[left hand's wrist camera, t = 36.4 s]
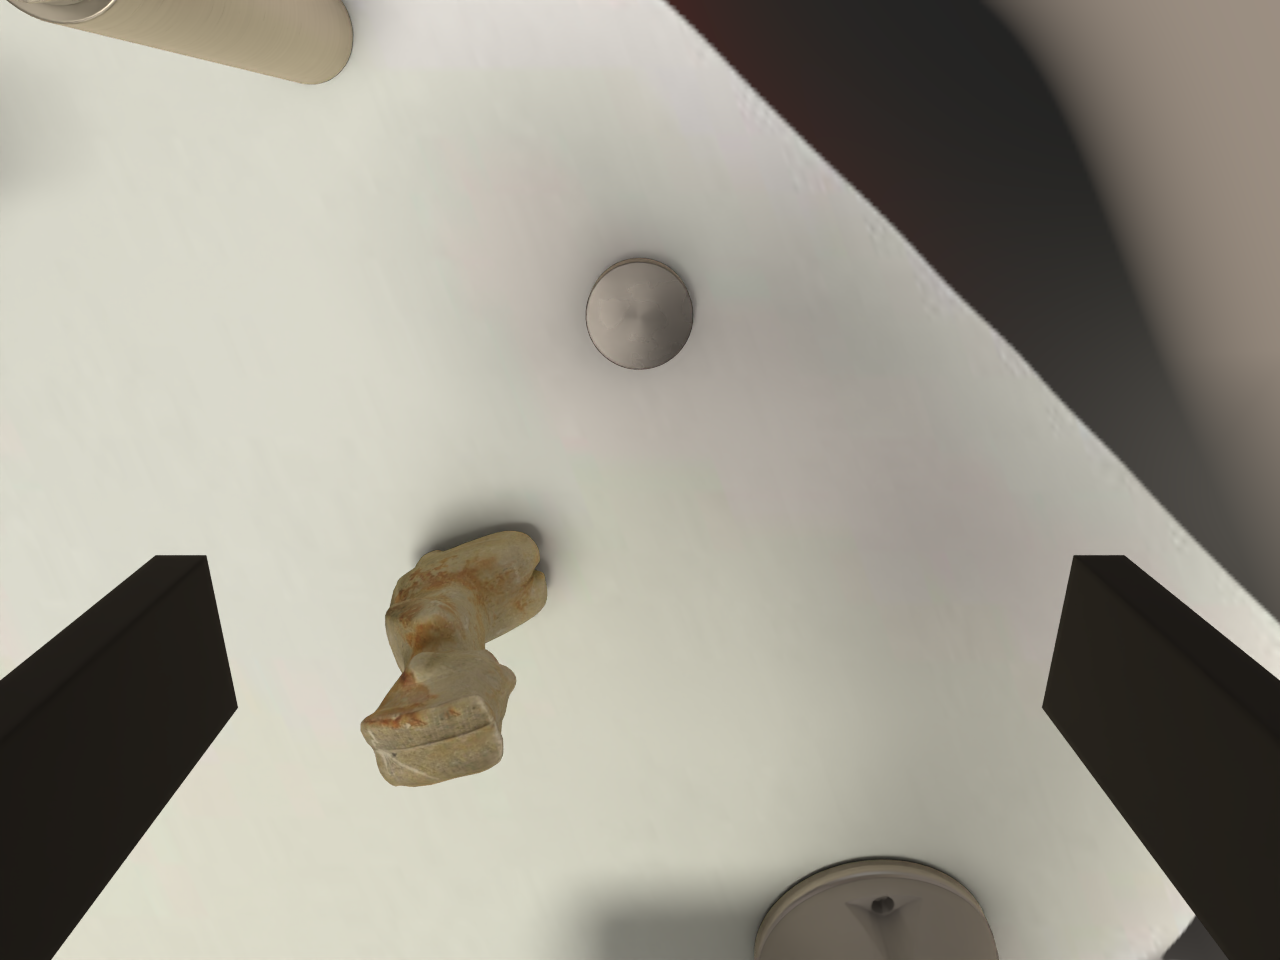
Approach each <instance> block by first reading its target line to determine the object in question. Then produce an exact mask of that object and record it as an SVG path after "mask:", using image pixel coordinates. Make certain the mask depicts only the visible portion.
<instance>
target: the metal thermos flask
mask: <svg viewBox="0 0 1280 960" xmlns="http://www.w3.org/2000/svg"><path fill="white" fill-rule="evenodd" d="M7 1H8V2H9V3H11V4H12V5H14V6H15V7H16V8H18V9H19V10H21V11H23V12H25V13H26V14H28V15H30V16H32V17H35V18H37V19H40V20H42V21H46V22H50V23H54V24H58V25H62V26H66V27H70V28H74V29H78V30H83V31H87V32H91V33H95V34H99V35H103V36H107V37H111V38H116V39H120V40H124V41H128V42H132V43H136V44H140V45H145V46H149V47H153V48H157V49H161V50H165V51H169V52H173V53H178V54H182V55H186V56H190V57H194V58H198V59H202V60H207V61H211V62H215V63H219V64H223V65H227V66H231V67H235V68H240V69H244V70H248V71H252V72H256V73H260V74H264V75H269V76H273V77H277V78H281V79H285V80H289V81H293V82H297V83H302V84H319V83H323V82H326V81H328V80H330V79H332V78H333V77H335V76H336V75H337V74H338V73H339V72H340V71H341V70H342V69H343V67H344V66H345V65H346V63H347V61H348V59H349V56H350V53H351V49H352V42H353V32H352V25H351V21H350V18H349V15H348V12H347V10H346V8H345V6H344V4H343V3H342V1H341V0H7Z"/></svg>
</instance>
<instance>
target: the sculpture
mask: <svg viewBox="0 0 1280 960" xmlns="http://www.w3.org/2000/svg"><path fill="white" fill-rule="evenodd" d="M539 562H540V554H539V550H538V547H537V545H536V544H535V542H534V541H533V540H532V539H531V537H530V536H528V535H527V534H525V533H522V532H517V531H503V532H497V533H494V534H490V535H487V536H484V537H481V538H478V539H475V540H473V541H470V542H467V543H464V544H462V545H459V546H457V547H454V548H451V549H449V550H446V551H443V552H442V551H440V550H435V551H432V552H429V553H427V554H425V555H424V556H423V557H421V559H420V560H419V562H418V563H417V565H416V567H415V568H414V569H412V570H411V571H409V572H408V573H406V574H405V575H403V576H402V577H401V578H400V579H399V580H398V582H397V585H396V587H395V589H394V591H393V595H392V599H391V604H390V608H389V609H388V611H387V612H386V615H385V626H386V633H387V637H388V640H389V644H390V646H391V649H392V652H393V654H394V657H395V659H396V662H397V664H398V667H399V668H400V670H401V672H402V675H401V676H400V677H399V679H398V680H397V681H396V683H395V684H394V685H393V687H392V688H391V690H390V691H389V692H388V694H387V695H386V696H385V698H384V700H383V701H382V703H381V704H380V706H379V707H378V709H377V710H376V711H375V712H374V713H373V714H371V715H369V716H368V717H366V718H365V719H364V720H363V721H362V722H361V732H362V734H363V736H364V738H365V740H366V742H367V743H368V744H369V745H370V746H371V747H372V748H373V750H374V753H375V756H376V761H377V765H378V768H379V771H380V773H381V775H382V776H383V777H384V779H385V780H386V781H387V782H389V783H390V784H391V785H393V786H409V787H417V786H425V785H432V784H436V783H440V782H443V781H447V780H450V779H454V778H457V777H462V776H467V775H471V774H476V773H480V772H483V771H485V770H488V769H489V768H491V767H493V766H494V765H496V764H497V763H498V762H500V760H501V758H502V756H503V738H502V735H501V727H502V720H503V718H504V715H505V712H506V707H507V702H508V698H509V695H510V693H511V692H512V691H513V689H514V687H515V685H516V676H515V674H514V673H513V672H512V670H510V669H509V668H508V667H506V666H504V665H501V664H499V663H498V661H497V659H496V658H495V657H494V655H493V654H492V653H490V652H489V651H488V650H486V649H485V643H487V642H489V641H491V640H493V639H495V638H497V637H499V636H501V635H503V634H505V633H507V632H509V631H511V630H512V629H514V628H516V627H518V626H519V625H521V624H523V623H524V622H526V621H527V620H529V619H531V618H532V617H534V616H535V615H536V614H537V613H538V612H539V611H540V610H541V609H542V608H543V606H544V605H545V603H546V600H547V585H546V582H545V575H544V573H542V572H540V571H537V570H534V569H535V567H536V566H537V564H538V563H539Z"/></svg>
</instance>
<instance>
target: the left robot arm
mask: <svg viewBox="0 0 1280 960" xmlns="http://www.w3.org/2000/svg"><path fill="white" fill-rule="evenodd" d="M237 708H238V706H237V701H236V696H235V691H234V686H233V681H232V677H231V672H230V667H229V662H228V657H227V653H226V648H225V643H224V638H223V633H222V628H221V624H220V619H219V614H218V609H217V604H216V600H215V595H214V590H213V585H212V580H211V576H210V571H209V566H208V561H207V556H206V555H156V556H154V557H153V558H152V559H151V560H149V561H148V562H147V563H146V564H144V565H143V566H142V567H141V568H139V569H138V570H137V571H136V572H134V573H133V574H132V575H131V576H129V577H128V578H127V579H126V580H124V581H123V582H122V583H121V584H120V585H118V586H117V587H116V588H115V589H113V590H112V591H111V592H110V593H108V594H107V595H106V596H105V597H103V598H102V599H101V600H100V601H98V602H97V603H96V604H95V605H93V606H92V607H91V608H90V609H88V610H87V611H86V612H85V613H83V614H82V615H81V616H80V617H79V618H77V619H76V620H75V621H74V622H72V623H71V624H70V625H69V626H67V627H66V628H65V629H64V630H62V631H61V632H60V633H59V634H57V635H56V636H55V637H54V638H52V639H51V640H50V641H49V642H47V643H46V644H45V645H44V646H43V647H41V648H40V649H39V650H38V651H36V652H35V653H34V654H33V655H31V656H30V657H29V658H28V659H26V660H25V661H24V662H23V663H21V664H20V665H19V666H18V667H16V668H15V669H14V670H13V671H11V672H10V673H9V674H8V675H7V676H5V677H4V678H3V679H2V680H0V960H51V959H52V958H53V956H54V955H55V954H56V952H57V951H58V950H59V948H60V947H61V946H62V944H63V943H64V942H65V940H66V939H67V938H68V936H69V935H70V934H71V932H72V931H73V930H74V928H75V927H76V925H77V924H78V923H79V921H80V920H81V919H82V917H83V916H84V915H85V913H86V912H87V911H88V909H89V908H90V907H91V905H92V904H93V903H94V901H95V900H96V898H97V897H98V896H99V894H100V893H101V892H102V890H103V889H104V888H105V886H106V885H107V884H108V882H109V881H110V880H111V878H112V877H113V876H114V874H115V873H116V871H117V870H118V869H119V867H120V866H121V865H122V863H123V862H124V861H125V859H126V858H127V857H128V855H129V854H130V853H131V851H132V850H133V849H134V847H135V846H136V845H137V843H138V842H139V840H140V839H141V838H142V836H143V835H144V834H145V832H146V831H147V830H148V828H149V827H150V826H151V824H152V823H153V822H154V820H155V819H156V818H157V816H158V815H159V813H160V812H161V811H162V809H163V808H164V807H165V805H166V804H167V803H168V801H169V800H170V799H171V797H172V796H173V795H174V793H175V792H176V791H177V789H178V788H179V787H180V785H181V784H182V782H183V781H184V780H185V778H186V777H187V776H188V774H189V773H190V772H191V770H192V769H193V768H194V766H195V765H196V764H197V762H198V761H199V760H200V758H201V757H202V755H203V754H204V753H205V751H206V750H207V749H208V747H209V746H210V745H211V743H212V742H213V741H214V739H215V738H216V737H217V735H218V734H219V733H220V731H221V730H222V729H223V727H224V726H225V724H226V723H227V722H228V720H229V719H230V718H231V716H232V715H233V714H234V712H235V711H236V710H237ZM1042 708H1043V710H1044V711H1045V712H1046V714H1047V715H1048V716H1049V718H1050V719H1051V720H1052V722H1053V723H1054V724H1055V726H1056V727H1057V729H1058V730H1059V731H1060V733H1061V734H1062V735H1063V737H1064V738H1065V739H1066V741H1067V742H1068V743H1069V745H1070V746H1071V747H1072V749H1073V750H1074V751H1075V753H1076V754H1077V755H1078V757H1079V758H1080V760H1081V761H1082V762H1083V764H1084V765H1085V766H1086V768H1087V769H1088V770H1089V772H1090V773H1091V774H1092V776H1093V777H1094V778H1095V780H1096V781H1097V782H1098V784H1099V785H1100V787H1101V788H1102V789H1103V791H1104V792H1105V793H1106V795H1107V796H1108V797H1109V799H1110V800H1111V801H1112V803H1113V804H1114V805H1115V807H1116V808H1117V809H1118V811H1119V812H1120V813H1121V815H1122V816H1123V818H1124V819H1125V820H1126V822H1127V823H1128V824H1129V826H1130V827H1131V828H1132V830H1133V831H1134V832H1135V834H1136V835H1137V836H1138V838H1139V839H1140V840H1141V842H1142V843H1143V845H1144V846H1145V847H1146V849H1147V850H1148V851H1149V853H1150V854H1151V855H1152V857H1153V858H1154V859H1155V861H1156V862H1157V863H1158V865H1159V866H1160V867H1161V869H1162V870H1163V871H1164V873H1165V874H1166V876H1167V877H1168V878H1169V880H1170V881H1171V882H1172V884H1173V885H1174V886H1175V888H1176V889H1177V890H1178V892H1179V893H1180V894H1181V896H1182V897H1183V898H1184V900H1185V901H1186V903H1187V904H1188V905H1189V907H1190V908H1191V909H1192V911H1193V912H1194V913H1195V915H1196V916H1197V917H1198V919H1199V920H1200V921H1201V923H1202V924H1203V925H1204V927H1205V928H1206V929H1207V931H1208V932H1209V934H1210V935H1211V936H1212V938H1213V939H1214V940H1215V942H1216V943H1217V944H1218V946H1219V947H1220V948H1221V950H1222V951H1223V952H1224V954H1225V955H1226V956H1227V958H1228V959H1229V960H1280V680H1278V679H1277V678H1276V677H1275V676H1273V675H1272V674H1271V673H1270V672H1269V671H1267V670H1266V669H1265V668H1264V667H1262V666H1261V665H1260V664H1259V663H1257V662H1256V661H1255V660H1254V659H1252V658H1251V657H1250V656H1249V655H1247V654H1246V653H1245V652H1244V651H1242V650H1241V649H1240V648H1239V647H1237V646H1236V645H1235V644H1234V643H1233V642H1231V641H1230V640H1229V639H1228V638H1226V637H1225V636H1224V635H1223V634H1221V633H1220V632H1219V631H1218V630H1216V629H1215V628H1214V627H1213V626H1211V625H1210V624H1209V623H1208V622H1206V621H1205V620H1204V619H1203V618H1201V617H1200V616H1199V615H1198V614H1197V613H1195V612H1194V611H1193V610H1192V609H1190V608H1189V607H1188V606H1187V605H1185V604H1184V603H1183V602H1182V601H1180V600H1179V599H1178V598H1177V597H1175V596H1174V595H1173V594H1172V593H1170V592H1169V591H1168V590H1167V589H1165V588H1164V587H1163V586H1162V585H1160V584H1159V583H1158V582H1157V581H1156V580H1154V579H1153V578H1152V577H1151V576H1149V575H1148V574H1147V573H1146V572H1144V571H1143V570H1142V569H1141V568H1139V567H1138V566H1137V565H1136V564H1134V563H1133V562H1132V561H1131V560H1129V559H1128V558H1127V557H1126V556H1124V555H1074V556H1073V561H1072V566H1071V571H1070V576H1069V580H1068V585H1067V590H1066V595H1065V600H1064V604H1063V609H1062V614H1061V619H1060V624H1059V628H1058V633H1057V638H1056V643H1055V648H1054V653H1053V657H1052V662H1051V667H1050V672H1049V677H1048V681H1047V686H1046V691H1045V696H1044V701H1043V706H1042ZM754 958H755V960H999V958H998V952H997V948H996V945H995V941H994V937H993V934H992V931H991V929H990V926H989V924H988V922H987V920H986V918H985V916H984V913H983V911H982V909H981V907H980V906H979V904H978V902H977V901H976V899H975V898H974V897H973V895H972V894H971V893H970V892H969V891H968V890H967V889H966V888H965V887H964V886H963V885H961V884H960V883H959V882H958V881H956V880H955V879H953V878H952V877H950V876H948V875H946V874H944V873H942V872H941V871H938V870H936V869H933V868H931V867H928V866H924V865H921V864H917V863H912V862H908V861H900V860H885V859H883V860H865V861H858V862H852V863H847V864H843V865H839V866H836V867H833V868H830V869H827V870H824V871H822V872H819V873H817V874H815V875H813V876H811V877H809V878H807V879H805V880H803V881H802V882H800V883H799V884H797V885H795V886H794V887H793V888H791V889H790V890H789V891H787V892H786V893H785V894H784V895H783V896H782V897H781V898H780V899H779V900H778V901H777V902H776V903H775V904H774V905H773V906H772V908H771V909H770V910H769V912H768V913H767V914H766V916H765V918H764V920H763V921H762V923H761V925H760V928H759V930H758V933H757V937H756V941H755V947H754Z"/></svg>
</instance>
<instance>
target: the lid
mask: <svg viewBox="0 0 1280 960" xmlns="http://www.w3.org/2000/svg"><path fill="white" fill-rule="evenodd" d="M586 324H587V329H588V333H589V335H590V338H591V340H592V342H593V343H594V345H595V347H596V348H597V349H598V351H599V352H600V353H601V354H602V355H603V356H604V357H606V358H607V359H608V360H610V361H611V362H613V363H615V364H617V365H619V366H621V367H625V368H629V369H638V370H642V369H650V368H654V367H657V366H660V365H662V364H664V363H666V362H668V361H669V360H671V359H672V358H673V357H674V356H676V355H677V354H678V353H679V351H680V350H681V349H682V348H683V346H684V345H685V343H686V342H687V340H688V337H689V335H690V332H691V329H692V324H693V307H692V303H691V299H690V296H689V294H688V291H687V288H686V287H685V285H684V283H683V281H682V280H681V278H680V277H679V276H678V275H677V274H676V273H675V272H674V271H673V270H672V269H671V268H669V267H668V266H666V265H665V264H663V263H660V262H658V261H655V260H652V259H646V258H632V259H627V260H623V261H621V262H618V263H616V264H615V265H613V266H611V267H610V268H608V269H607V270H606V271H605V272H604V273H603V274H602V275H601V276H600V277H599V278H598V280H597V281H596V283H595V284H594V286H593V288H592V291H591V293H590V296H589V299H588V302H587V307H586Z"/></svg>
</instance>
